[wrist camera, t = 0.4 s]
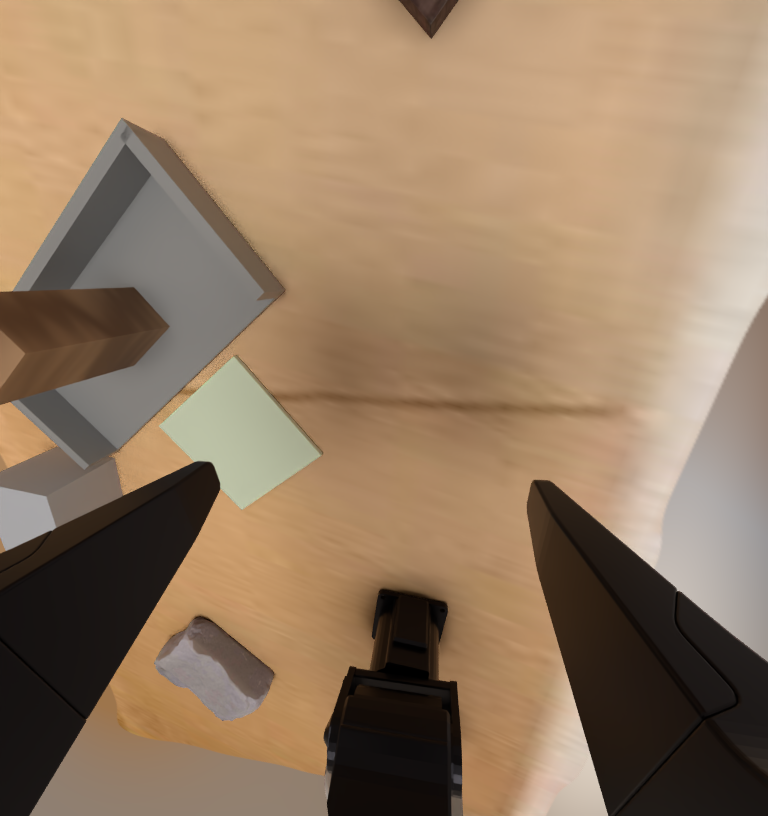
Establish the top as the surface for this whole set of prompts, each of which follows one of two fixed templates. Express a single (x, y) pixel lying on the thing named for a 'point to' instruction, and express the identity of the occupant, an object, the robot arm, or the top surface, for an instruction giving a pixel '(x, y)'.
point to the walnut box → (71, 336)
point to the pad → (240, 434)
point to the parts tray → (144, 286)
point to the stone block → (215, 669)
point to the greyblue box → (51, 494)
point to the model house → (429, 12)
